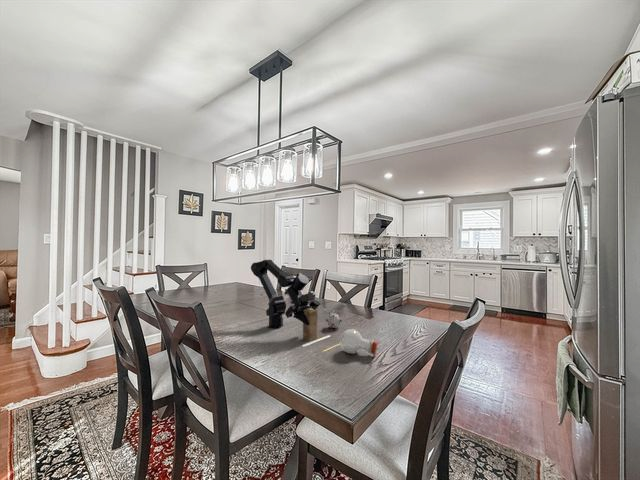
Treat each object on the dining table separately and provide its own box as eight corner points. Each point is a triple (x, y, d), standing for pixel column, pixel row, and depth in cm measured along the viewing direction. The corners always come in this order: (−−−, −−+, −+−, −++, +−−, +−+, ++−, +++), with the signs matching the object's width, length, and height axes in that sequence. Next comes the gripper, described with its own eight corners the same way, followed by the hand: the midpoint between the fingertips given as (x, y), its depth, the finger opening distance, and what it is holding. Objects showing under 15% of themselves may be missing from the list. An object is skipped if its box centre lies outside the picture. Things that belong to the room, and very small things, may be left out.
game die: (335, 334, 143) (346, 317, 145) (335, 333, 135) (346, 316, 137) (321, 324, 145) (332, 308, 148) (320, 323, 137) (331, 306, 140)
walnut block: (302, 338, 126) (303, 309, 126) (309, 335, 129) (310, 307, 129) (309, 340, 123) (310, 310, 123) (316, 338, 126) (317, 309, 126)
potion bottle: (339, 352, 114) (374, 363, 108) (334, 345, 106) (372, 357, 100) (345, 331, 118) (379, 340, 112) (341, 323, 111) (377, 332, 105)
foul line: (304, 346, 116) (304, 346, 116) (301, 345, 117) (301, 345, 117) (331, 336, 129) (331, 336, 129) (328, 335, 130) (328, 335, 130)
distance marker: (324, 351, 111) (324, 351, 111) (322, 351, 111) (322, 351, 111) (344, 342, 121) (344, 342, 121) (342, 342, 122) (342, 341, 122)
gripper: (289, 288, 122) (306, 317, 114) (317, 284, 136) (334, 309, 128) (278, 303, 127) (294, 332, 119) (306, 297, 141) (322, 323, 133)
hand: (312, 323), depth 125 cm, fingers closed on walnut block, 5 cm apart
